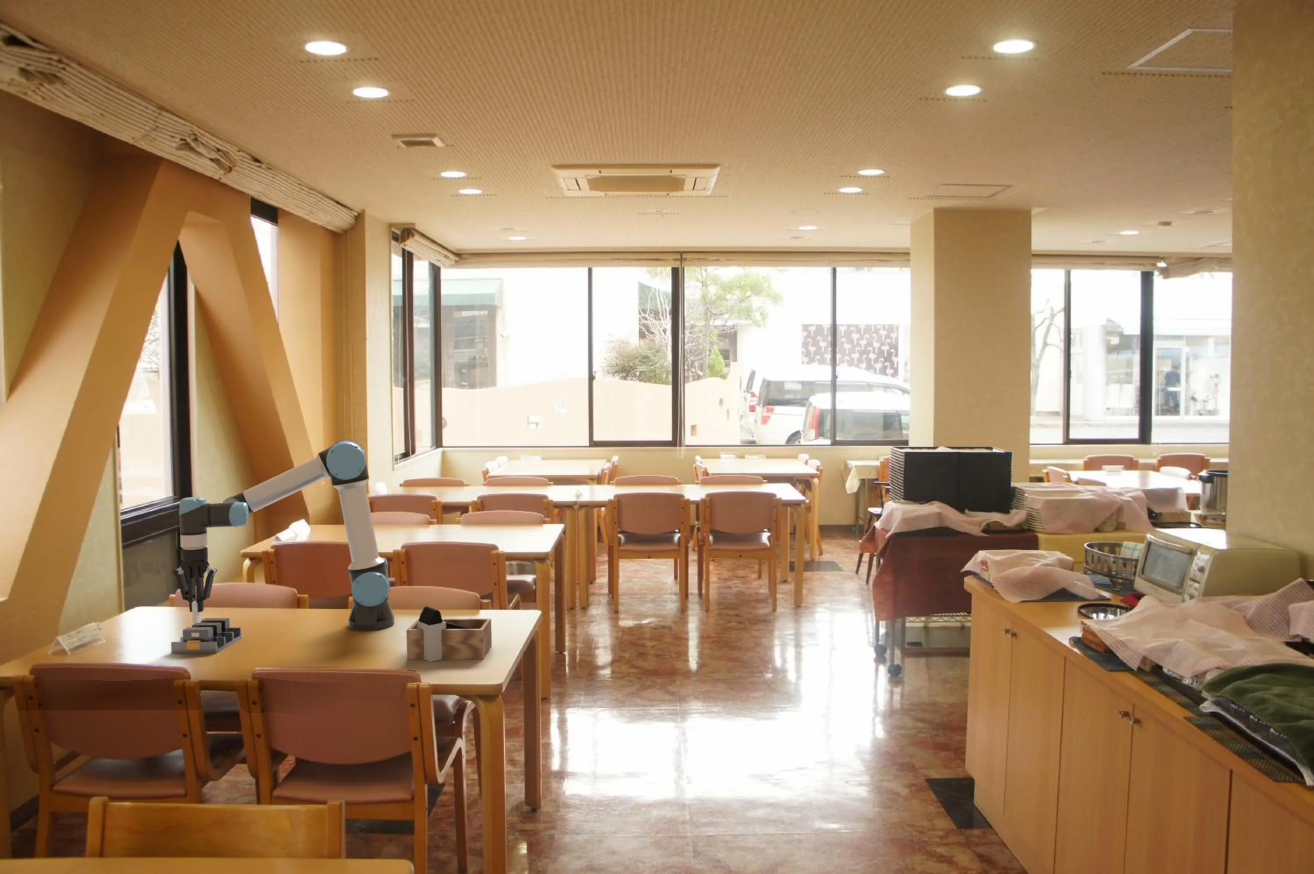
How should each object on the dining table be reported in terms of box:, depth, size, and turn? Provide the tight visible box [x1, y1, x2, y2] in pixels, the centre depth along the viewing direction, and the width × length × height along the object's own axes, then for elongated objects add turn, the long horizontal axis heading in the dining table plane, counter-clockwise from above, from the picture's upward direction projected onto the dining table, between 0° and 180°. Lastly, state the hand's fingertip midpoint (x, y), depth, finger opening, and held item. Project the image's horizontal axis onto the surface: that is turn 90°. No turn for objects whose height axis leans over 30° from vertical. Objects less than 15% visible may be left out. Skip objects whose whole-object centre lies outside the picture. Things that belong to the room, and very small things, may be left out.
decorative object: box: [417, 605, 472, 663], centre depth 293 cm, size 8×18×15 cm, turn 132°
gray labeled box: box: [182, 626, 213, 642], centre depth 298 cm, size 8×3×6 cm, turn 89°
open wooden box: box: [405, 618, 493, 661], centre depth 293 cm, size 23×13×9 cm, turn 89°
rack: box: [170, 617, 242, 655], centre depth 304 cm, size 14×17×7 cm
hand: (197, 621), depth 298 cm, fingers closed
